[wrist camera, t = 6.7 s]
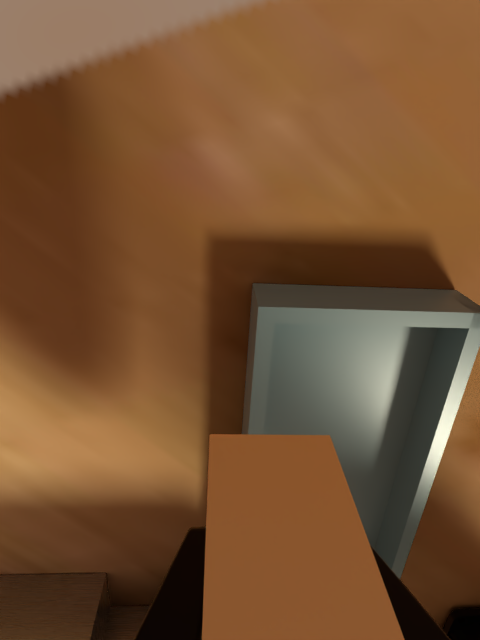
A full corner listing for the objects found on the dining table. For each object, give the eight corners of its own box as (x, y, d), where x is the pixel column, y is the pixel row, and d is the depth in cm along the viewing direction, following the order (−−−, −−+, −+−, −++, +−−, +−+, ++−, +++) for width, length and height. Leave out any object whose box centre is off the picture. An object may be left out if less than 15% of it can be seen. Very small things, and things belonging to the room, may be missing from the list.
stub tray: (456, 290, 17) (490, 313, 14) (377, 557, 23) (392, 599, 21) (252, 282, 16) (258, 306, 14) (232, 560, 23) (234, 603, 21)
